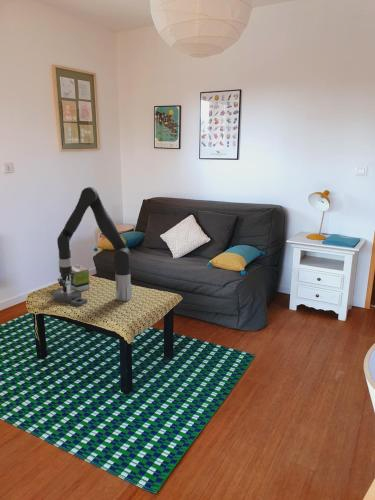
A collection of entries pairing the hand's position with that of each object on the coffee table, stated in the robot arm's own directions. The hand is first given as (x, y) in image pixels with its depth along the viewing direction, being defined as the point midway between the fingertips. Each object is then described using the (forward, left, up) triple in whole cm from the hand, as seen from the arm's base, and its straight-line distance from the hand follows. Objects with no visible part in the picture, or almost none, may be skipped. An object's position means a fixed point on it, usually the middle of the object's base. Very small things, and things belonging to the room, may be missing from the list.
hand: (66, 290), depth 245 cm
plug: (0, 0, -3) cm, 3 cm away
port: (0, 0, -6) cm, 6 cm away
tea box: (+6, -19, -6) cm, 21 cm away
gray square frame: (-11, +3, -6) cm, 13 cm away
